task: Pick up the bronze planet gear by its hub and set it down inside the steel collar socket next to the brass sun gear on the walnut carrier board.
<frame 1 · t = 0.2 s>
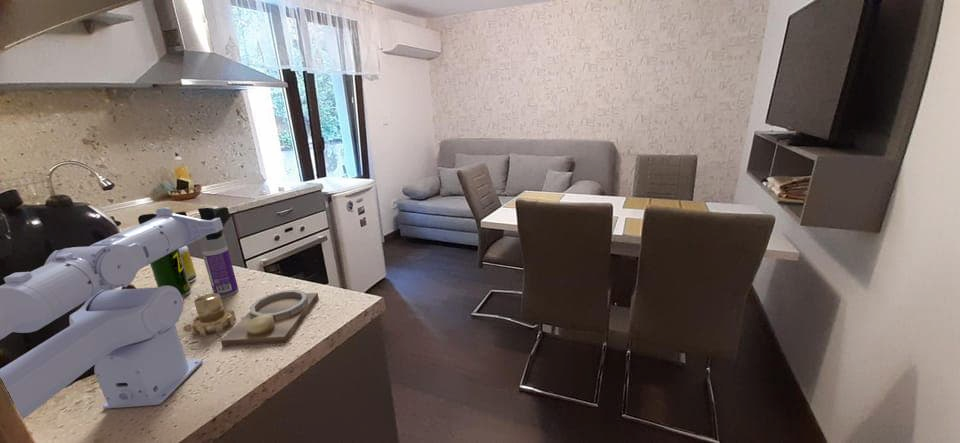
hand: (206, 214, 69), 21 cm above the counter, tool horizontal, fingers open, 7 cm apart
planet gear: (215, 326, 72), on the counter
carrier board: (275, 319, 73), on the counter
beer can: (177, 296, 84), on the counter
container: (226, 293, 85), on the counter
pill bottle: (181, 283, 91), on the counter
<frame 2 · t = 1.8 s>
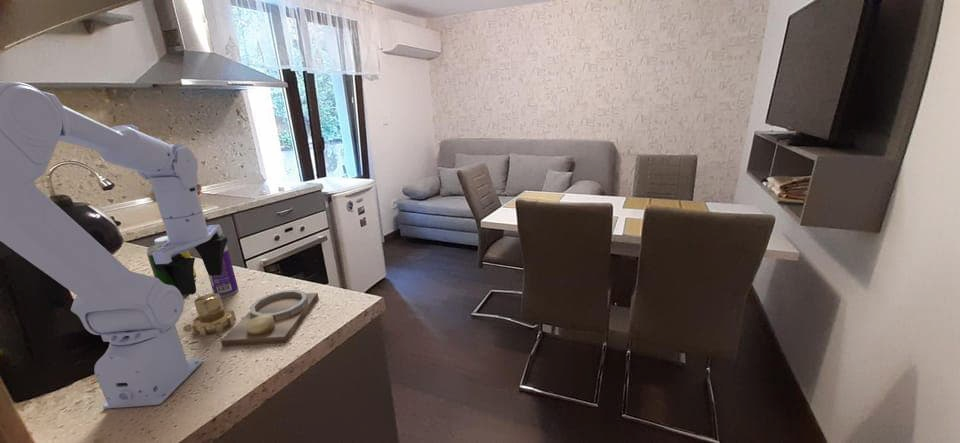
hand: (203, 283, 69), 9 cm above the counter, tool pointing down, fingers open, 7 cm apart
nothing on the counter moved.
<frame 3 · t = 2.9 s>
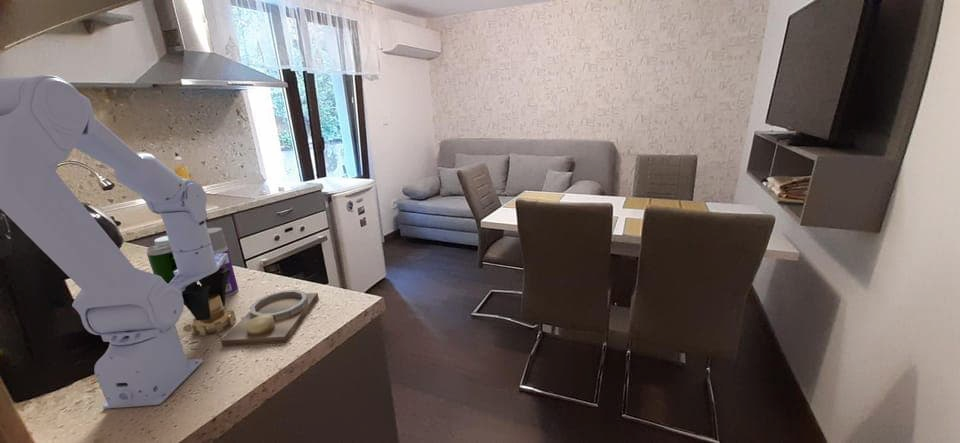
hand: (211, 312, 71), 3 cm above the counter, tool pointing down, fingers closed on planet gear, 4 cm apart
planet gear: (215, 325, 72), on the counter, touching gripper
everything else where it was.
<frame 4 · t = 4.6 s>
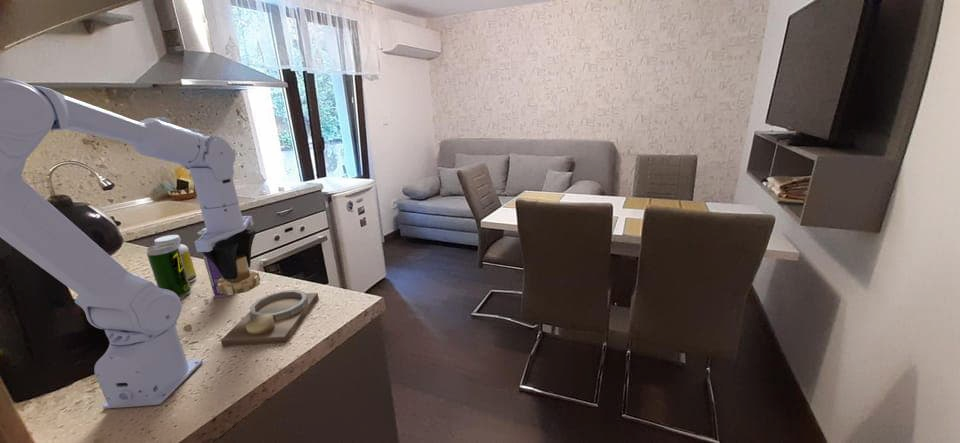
hand: (237, 272, 71), 10 cm above the counter, tool pointing down, fingers closed on planet gear, 4 cm apart
planet gear: (240, 286, 71), point 7 cm above the counter, touching gripper
everything else where it was.
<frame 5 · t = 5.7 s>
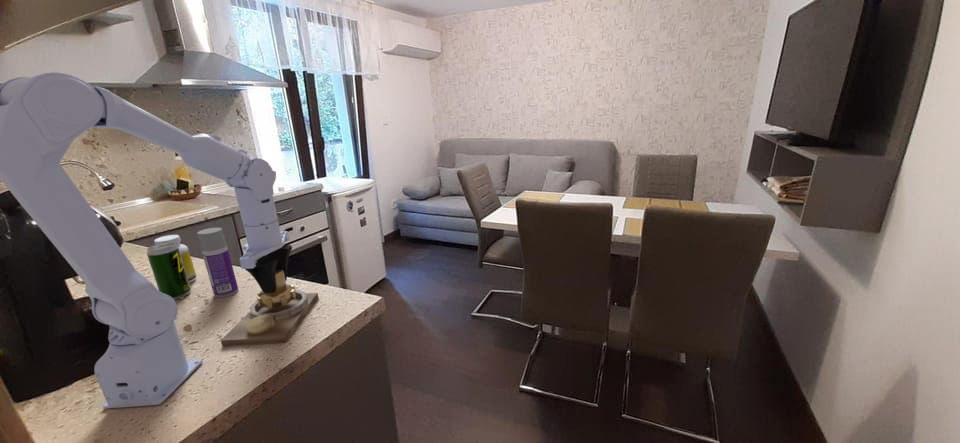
hand: (275, 286, 74), 6 cm above the counter, tool pointing down, fingers closed on planet gear, 4 cm apart
planet gear: (277, 299, 74), point 3 cm above the counter, touching gripper
everything else where it was.
when the fingers open (5 cm above the counter, at t = 6.3 s): planet gear stays where it is, resting on carrier board.
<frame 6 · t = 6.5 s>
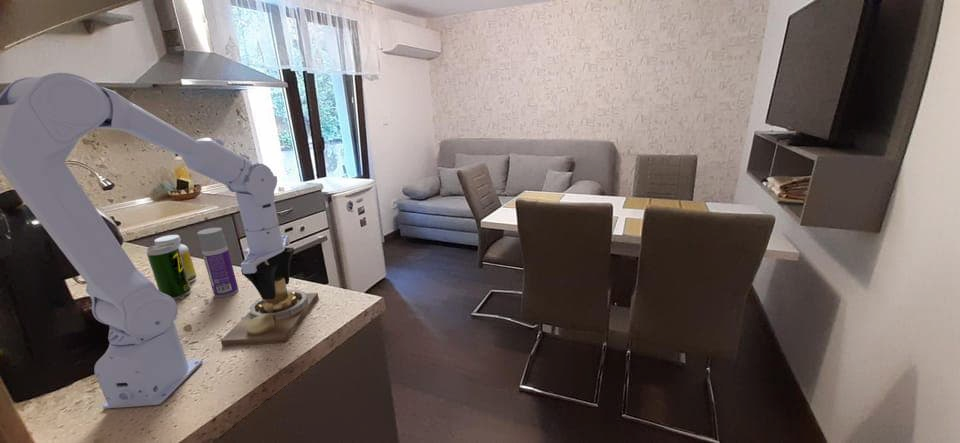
hand: (276, 291, 74), 5 cm above the counter, tool pointing down, fingers open, 5 cm apart
planet gear: (279, 307, 75), point 1 cm above the counter, touching carrier board
everything else where it was.
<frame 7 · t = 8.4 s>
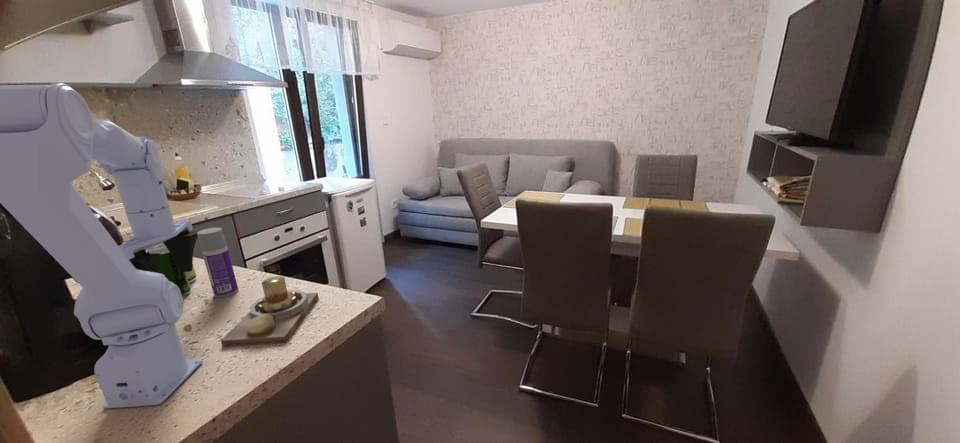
hand: (171, 280, 67), 10 cm above the counter, tool pointing down, fingers open, 7 cm apart
nothing on the counter moved.
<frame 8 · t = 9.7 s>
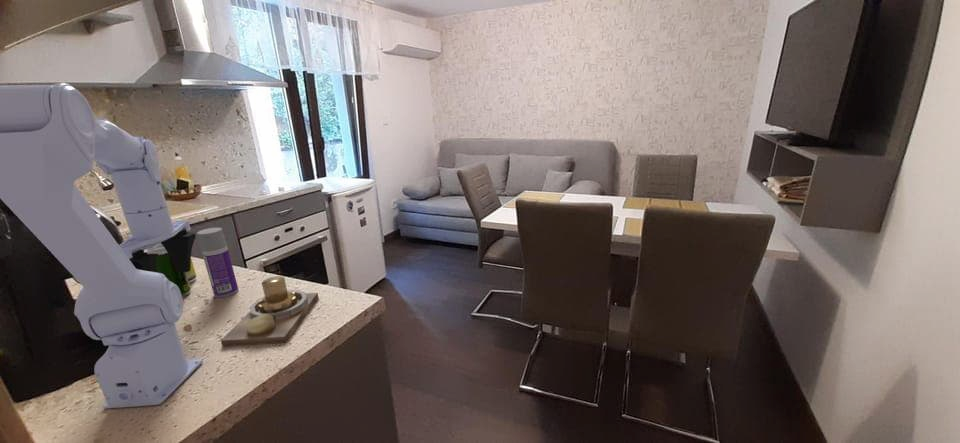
hand: (169, 280, 67), 10 cm above the counter, tool pointing down, fingers open, 7 cm apart
nothing on the counter moved.
at the end: planet gear 0.2 cm from the target spot on the carrier board, point 1.2 cm above the carrier board's base; planet gear tilted 0°; the gripper is holding nothing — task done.
